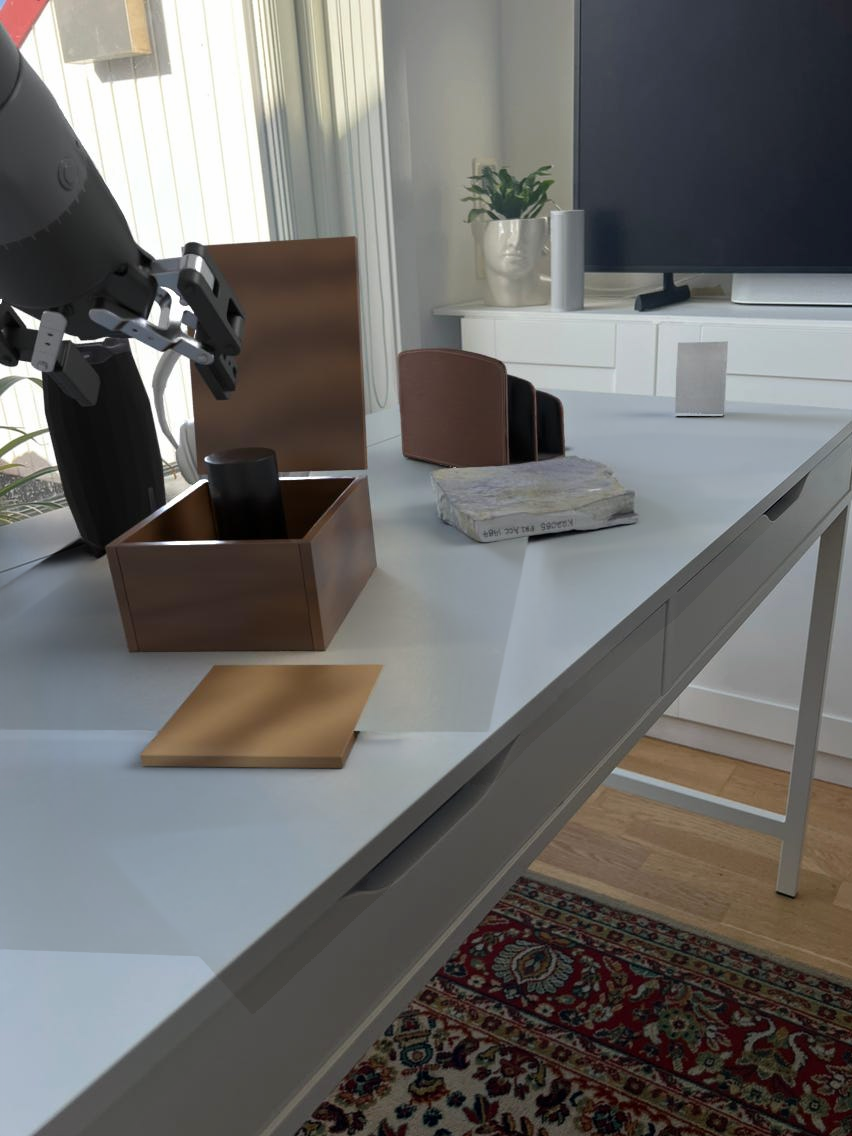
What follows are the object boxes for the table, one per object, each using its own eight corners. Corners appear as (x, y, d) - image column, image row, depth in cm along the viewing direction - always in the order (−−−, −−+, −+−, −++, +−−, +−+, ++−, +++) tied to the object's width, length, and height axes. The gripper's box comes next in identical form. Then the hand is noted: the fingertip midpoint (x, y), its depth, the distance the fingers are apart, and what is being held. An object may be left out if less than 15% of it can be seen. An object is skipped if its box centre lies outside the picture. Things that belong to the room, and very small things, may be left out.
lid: (355, 235, 76) (357, 238, 77) (180, 246, 78) (184, 248, 79) (365, 469, 79) (367, 469, 80) (197, 474, 81) (201, 474, 82)
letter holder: (506, 481, 109) (500, 354, 104) (401, 458, 123) (391, 344, 117) (567, 464, 115) (564, 342, 109) (460, 443, 129) (453, 334, 123)
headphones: (342, 483, 113) (321, 305, 105) (337, 504, 105) (314, 312, 97) (183, 494, 112) (149, 316, 104) (164, 516, 104) (127, 324, 96)
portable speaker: (65, 550, 95) (15, 346, 87) (153, 527, 101) (113, 333, 93) (101, 567, 89) (50, 350, 81) (192, 542, 95) (153, 337, 87)
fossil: (665, 526, 94) (583, 477, 108) (666, 481, 92) (583, 437, 106) (476, 568, 88) (416, 510, 102) (472, 521, 86) (412, 468, 100)
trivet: (141, 766, 56) (139, 754, 55) (216, 675, 66) (214, 664, 66) (343, 768, 54) (341, 756, 54) (385, 674, 65) (384, 663, 65)
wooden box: (326, 660, 68) (310, 542, 64) (130, 661, 69) (104, 546, 66) (378, 574, 83) (367, 474, 80) (217, 576, 85) (200, 479, 82)
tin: (221, 617, 74) (193, 464, 69) (243, 593, 79) (219, 448, 74) (286, 617, 73) (262, 462, 68) (305, 592, 78) (284, 446, 73)
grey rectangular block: (723, 416, 135) (727, 343, 131) (675, 417, 137) (676, 344, 133) (724, 411, 138) (728, 339, 134) (677, 412, 140) (679, 341, 136)
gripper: (167, 101, 43) (279, 334, 58) (-120, 125, 45) (60, 345, 60) (140, 231, 41) (265, 440, 56) (-164, 251, 43) (36, 448, 58)
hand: (158, 391), depth 58 cm, fingers open, 8 cm apart
